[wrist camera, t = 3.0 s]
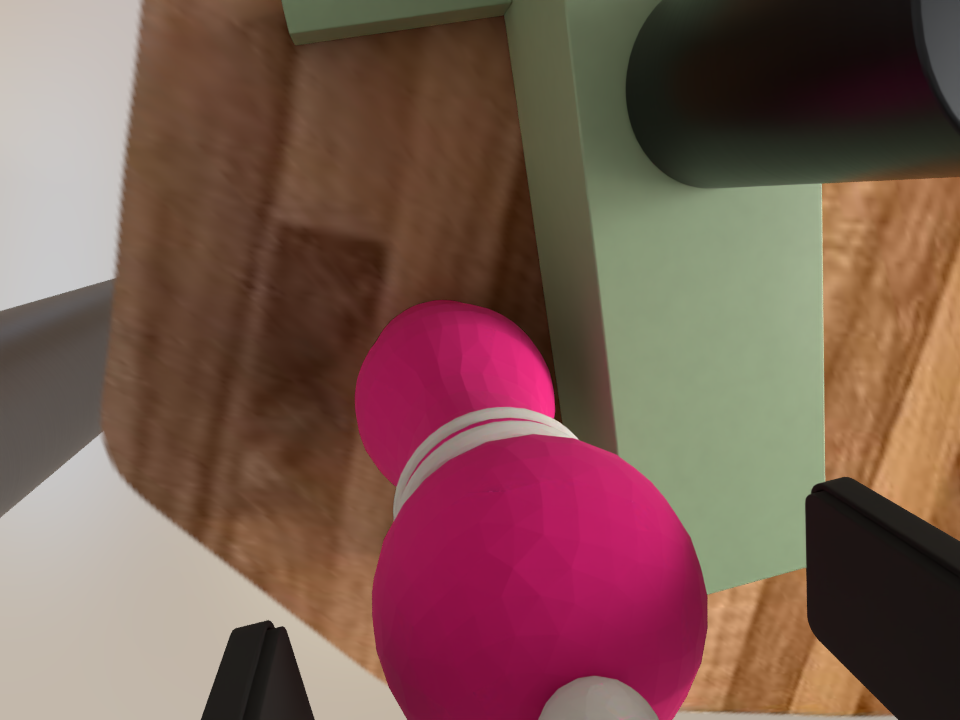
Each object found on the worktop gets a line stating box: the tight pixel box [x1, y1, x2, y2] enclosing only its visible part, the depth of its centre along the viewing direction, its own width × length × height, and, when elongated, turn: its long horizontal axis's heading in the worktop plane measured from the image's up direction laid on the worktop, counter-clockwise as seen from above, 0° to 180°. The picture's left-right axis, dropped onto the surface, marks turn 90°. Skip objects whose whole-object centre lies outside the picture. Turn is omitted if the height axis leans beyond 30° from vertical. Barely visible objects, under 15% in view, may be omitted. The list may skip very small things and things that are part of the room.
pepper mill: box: [355, 300, 707, 720], centre depth 17 cm, size 7×7×20 cm
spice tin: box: [626, 0, 960, 189], centre depth 13 cm, size 6×6×10 cm
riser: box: [281, 0, 825, 595], centre depth 23 cm, size 16×24×7 cm, turn 10°
